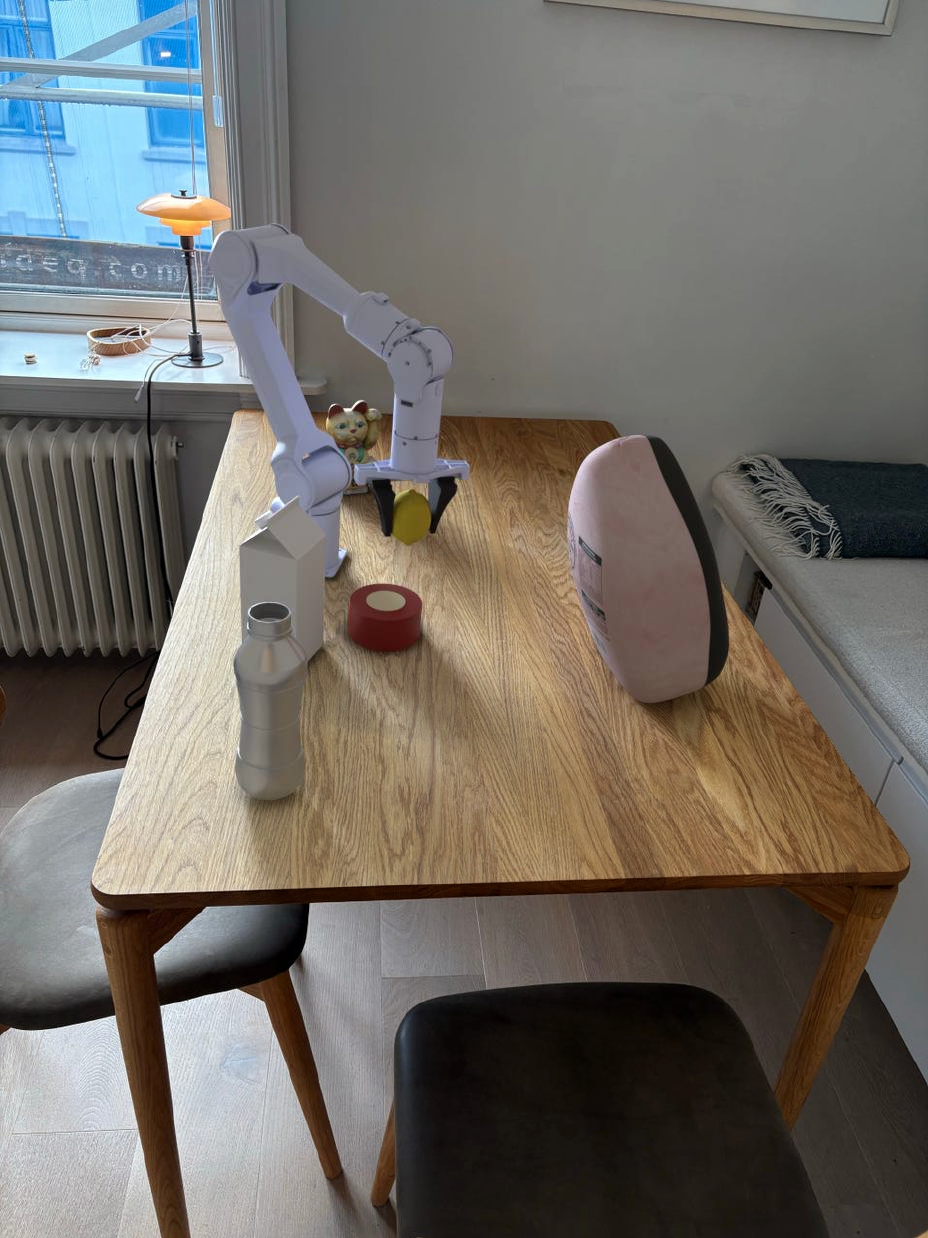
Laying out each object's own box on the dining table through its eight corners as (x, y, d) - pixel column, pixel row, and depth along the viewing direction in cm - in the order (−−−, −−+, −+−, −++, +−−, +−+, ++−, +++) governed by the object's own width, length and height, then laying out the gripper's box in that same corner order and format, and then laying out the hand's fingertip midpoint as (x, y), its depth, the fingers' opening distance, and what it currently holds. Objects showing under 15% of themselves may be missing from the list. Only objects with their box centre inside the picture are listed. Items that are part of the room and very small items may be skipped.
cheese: (339, 645, 116) (341, 612, 113) (357, 608, 123) (358, 577, 121) (412, 656, 115) (414, 624, 113) (425, 619, 123) (428, 588, 120)
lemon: (391, 556, 121) (395, 498, 117) (382, 536, 125) (385, 480, 121) (433, 554, 122) (438, 497, 118) (422, 535, 127) (427, 479, 123)
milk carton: (323, 645, 115) (327, 502, 106) (296, 675, 109) (297, 526, 100) (271, 630, 117) (270, 488, 107) (241, 659, 111) (237, 511, 101)
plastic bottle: (239, 764, 95) (233, 592, 85) (307, 765, 96) (310, 595, 86) (231, 809, 90) (224, 630, 80) (303, 809, 91) (306, 633, 80)
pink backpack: (735, 724, 110) (809, 483, 94) (573, 728, 106) (621, 479, 90) (670, 623, 128) (722, 408, 113) (529, 624, 124) (563, 402, 109)
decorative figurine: (329, 500, 151) (331, 408, 143) (309, 479, 157) (311, 391, 149) (384, 492, 155) (389, 403, 148) (363, 473, 161) (367, 387, 154)
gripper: (366, 445, 110) (361, 549, 117) (482, 441, 115) (471, 542, 122) (351, 424, 116) (347, 524, 123) (463, 421, 121) (453, 518, 128)
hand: (408, 531), depth 123 cm, fingers closed on lemon, 5 cm apart
